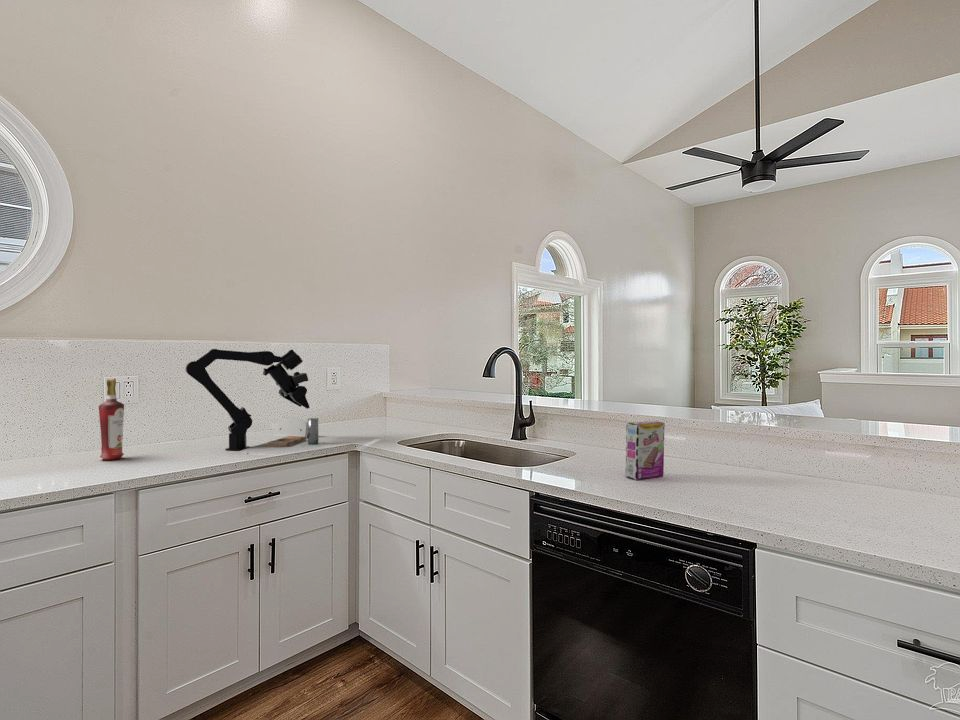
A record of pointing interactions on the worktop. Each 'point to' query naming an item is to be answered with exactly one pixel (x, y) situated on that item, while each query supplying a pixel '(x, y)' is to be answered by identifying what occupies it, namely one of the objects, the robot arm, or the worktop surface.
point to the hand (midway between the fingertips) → (304, 407)
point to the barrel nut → (312, 431)
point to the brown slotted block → (286, 441)
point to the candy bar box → (644, 450)
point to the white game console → (291, 428)
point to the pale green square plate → (313, 445)
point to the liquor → (111, 424)
